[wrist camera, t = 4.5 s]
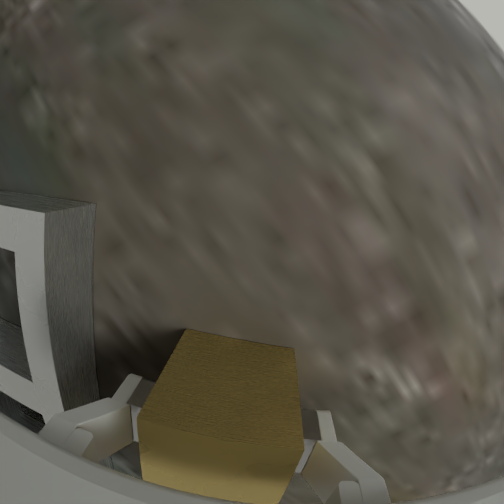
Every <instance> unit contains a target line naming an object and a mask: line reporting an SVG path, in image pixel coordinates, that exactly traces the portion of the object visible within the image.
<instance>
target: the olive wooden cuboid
mask: <svg viewBox="0 0 504 504" xmlns="http://www.w3.org/2000/svg"><path fill="white" fill-rule="evenodd" d="M136 419H137V432H138V443H139V452H140V461H141V470H142V477H143V480H145V481H148V482H152V483H155V484H158V485H162V486H166V487H169V488H173V489H177V490H181V491H185V492H189V493H194V494H198V495H203V496H208V497H214V498H219V499H225V500H231V501H238V502H245V503H253V504H278V503H279V501H280V499H281V497H282V495H283V494H284V492H285V490H286V488H287V486H288V484H289V482H290V480H291V478H292V476H293V474H294V472H295V470H296V468H297V465H298V463H299V461H300V459H301V457H302V455H303V453H304V450H305V449H304V438H303V427H302V417H301V407H300V397H299V388H298V379H297V369H296V361H295V352H294V349H293V348H286V347H280V346H273V345H267V344H261V343H256V342H250V341H245V340H239V339H234V338H229V337H223V336H218V335H213V334H209V333H204V332H199V331H194V330H190V329H186V330H185V332H184V334H183V335H182V337H181V339H180V341H179V342H178V344H177V346H176V348H175V349H174V351H173V353H172V355H171V357H170V358H169V360H168V362H167V364H166V365H165V367H164V369H163V371H162V373H161V374H160V376H159V378H158V380H157V382H156V383H155V385H154V387H153V389H152V391H151V392H150V394H149V396H148V398H147V400H146V401H145V403H144V405H143V407H142V409H141V411H140V412H139V414H138V416H137V418H136Z"/></svg>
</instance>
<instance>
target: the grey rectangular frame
mask: <svg viewBox="0 0 504 504" xmlns="http://www.w3.org/2000/svg"><path fill="white" fill-rule="evenodd" d="M95 209H96V204H94V203H88V202H81V201H74V200H67V199H61V198H54V197H47V196H40V195H32V194H25V193H18V192H10V191H3V190H0V247H1V248H4V249H7V250H10V251H13V252H15V268H16V282H17V293H18V303H19V311H20V318H21V325H22V328H20V327H18V326H16V325H14V324H12V323H10V322H8V321H6V320H4V319H2V318H0V412H1V413H3V414H4V415H6V416H8V417H9V418H11V419H12V420H14V421H15V422H17V423H19V424H20V425H22V426H24V427H25V428H27V429H29V430H31V431H32V432H34V433H36V434H38V433H39V432H40V431H41V430H42V429H43V427H44V426H45V425H46V424H47V423H48V422H49V420H50V419H51V418H52V417H53V416H54V415H55V414H58V413H62V412H65V411H68V410H71V409H74V408H78V407H81V406H84V405H87V404H90V403H93V402H96V401H99V400H100V395H99V387H98V379H97V369H96V359H95V347H94V331H93V306H92V263H93V238H94V222H95ZM19 402H20V403H22V404H23V405H25V406H27V407H29V408H31V409H32V410H34V411H36V412H38V413H40V414H42V416H43V419H44V422H45V424H43V423H41V422H39V421H37V420H36V419H34V418H32V417H30V416H28V415H27V414H25V413H23V411H22V409H21V406H20V403H19ZM100 465H103V466H105V467H108V468H111V469H113V466H112V462H111V457H110V456H108V457H106V458H104V459H103V460H101V461H100Z"/></svg>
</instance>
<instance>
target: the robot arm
mask: <svg viewBox="0 0 504 504" xmlns="http://www.w3.org/2000/svg"><path fill="white" fill-rule="evenodd" d="M156 382H157V381H155V380H151V379H148V378H145V377H141V376H138V375H135V374H132V373H131V374H129V375H128V376H127V377H126V379H125V380H124V381H123V383H122V384H121V386H120V387H119V388H118V390H117V391H116V393H115V394H114V396H113V397H112V398H108V397H107V398H104V399H101V400H99V401H96V402H93V403H90V404H87V405H84V406H81V407H78V408H74V409H71V410H68V411H65V412H62V413H58V414H55V415H54V416H53V417H52V418H51V419H50V420H49V422H48V423H47V424H46V425H45V426H44V427H43V429H42V430H41V431H40V432H39V433H38V434H36V433H34V432H32V431H31V430H29V429H27V428H25V427H24V426H22V425H20V424H19V423H17V422H15V421H14V420H12V419H11V418H9V417H8V416H6V415H4V414H3V413H1V412H0V504H253V503H245V502H238V501H231V500H225V499H219V498H214V497H208V496H203V495H198V494H194V493H189V492H185V491H181V490H177V489H173V488H169V487H166V486H162V485H158V484H155V483H152V482H148V481H145V480H142V479H139V478H136V477H133V476H130V475H127V474H124V473H121V472H119V471H116V470H113V469H111V468H108V467H105V466H103V465H100V461H101V460H103V459H104V458H106V457H108V456H110V455H111V454H113V453H115V452H117V451H118V450H120V449H122V448H124V447H125V446H127V445H129V444H130V443H132V442H133V441H136V442H138V432H137V419H136V418H137V416H138V414H139V412H140V411H141V409H142V407H143V405H144V403H145V401H146V400H147V398H148V396H149V394H150V392H151V391H152V389H153V387H154V385H155V383H156ZM301 417H302V427H303V438H304V449H305V450H304V453H303V455H302V457H301V459H300V461H299V463H298V465H297V468H296V470H295V472H297V473H301V474H302V476H303V477H304V478H305V480H306V481H307V482H308V484H309V485H310V486H311V488H312V489H313V490H314V492H315V493H316V494H317V496H318V497H319V498H320V500H321V501H322V502H323V503H324V504H504V476H502V477H499V478H496V479H494V480H491V481H488V482H485V483H481V484H478V485H475V486H471V487H468V488H464V489H461V490H457V491H453V492H449V493H445V494H440V495H436V496H431V497H426V498H421V499H415V500H409V501H403V502H396V503H391V501H390V497H389V494H388V490H387V487H386V484H385V480H384V478H383V477H381V476H380V475H379V474H378V473H377V472H375V471H374V470H373V469H372V468H371V467H369V466H368V465H367V464H366V463H365V462H364V461H362V460H361V459H360V458H359V457H358V456H357V455H355V454H354V453H353V452H352V451H351V450H350V449H349V448H347V447H346V446H345V445H344V444H343V443H342V442H337V439H336V434H335V430H334V425H333V421H332V416H331V412H330V411H326V410H309V409H301Z"/></svg>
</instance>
